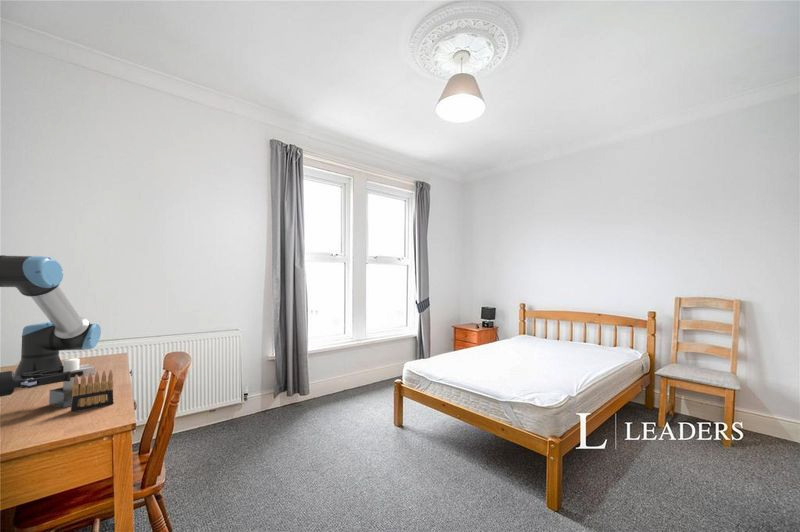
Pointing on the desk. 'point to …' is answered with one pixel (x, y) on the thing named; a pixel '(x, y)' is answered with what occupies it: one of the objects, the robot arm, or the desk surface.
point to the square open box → (61, 397)
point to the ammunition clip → (92, 392)
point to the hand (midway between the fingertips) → (91, 369)
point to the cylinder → (68, 366)
